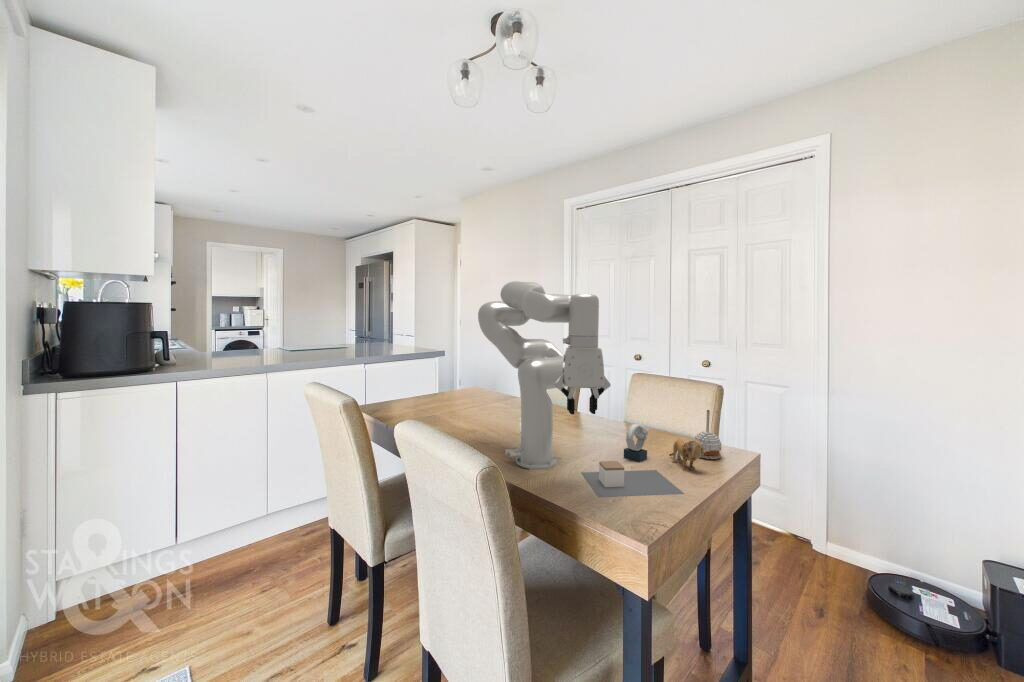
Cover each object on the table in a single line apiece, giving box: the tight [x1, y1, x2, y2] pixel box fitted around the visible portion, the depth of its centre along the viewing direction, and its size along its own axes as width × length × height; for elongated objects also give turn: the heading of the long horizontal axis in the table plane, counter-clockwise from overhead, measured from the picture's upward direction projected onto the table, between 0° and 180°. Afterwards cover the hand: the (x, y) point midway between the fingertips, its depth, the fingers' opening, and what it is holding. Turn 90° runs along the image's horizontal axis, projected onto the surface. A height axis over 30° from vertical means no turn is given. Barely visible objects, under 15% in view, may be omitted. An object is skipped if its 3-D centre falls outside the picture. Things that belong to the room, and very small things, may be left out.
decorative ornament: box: [692, 409, 722, 460], centre depth 132 cm, size 8×8×15 cm
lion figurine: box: [668, 439, 706, 471], centre depth 124 cm, size 15×5×9 cm, turn 14°
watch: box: [623, 423, 649, 463], centre depth 129 cm, size 6×8×11 cm
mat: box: [580, 469, 685, 498], centre depth 110 cm, size 22×16×1 cm
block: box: [598, 460, 625, 487], centre depth 109 cm, size 5×5×5 cm
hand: (582, 412), depth 108 cm, fingers open, 4 cm apart
